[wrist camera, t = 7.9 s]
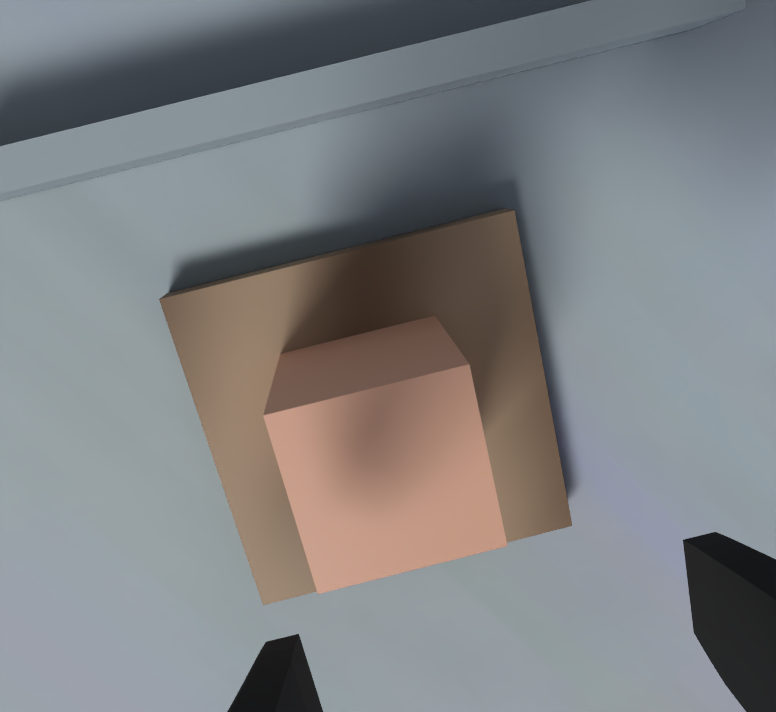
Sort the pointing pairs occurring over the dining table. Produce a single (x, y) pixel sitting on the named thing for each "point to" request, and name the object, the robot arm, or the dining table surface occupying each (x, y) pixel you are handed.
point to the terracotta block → (383, 454)
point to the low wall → (345, 89)
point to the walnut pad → (356, 316)
